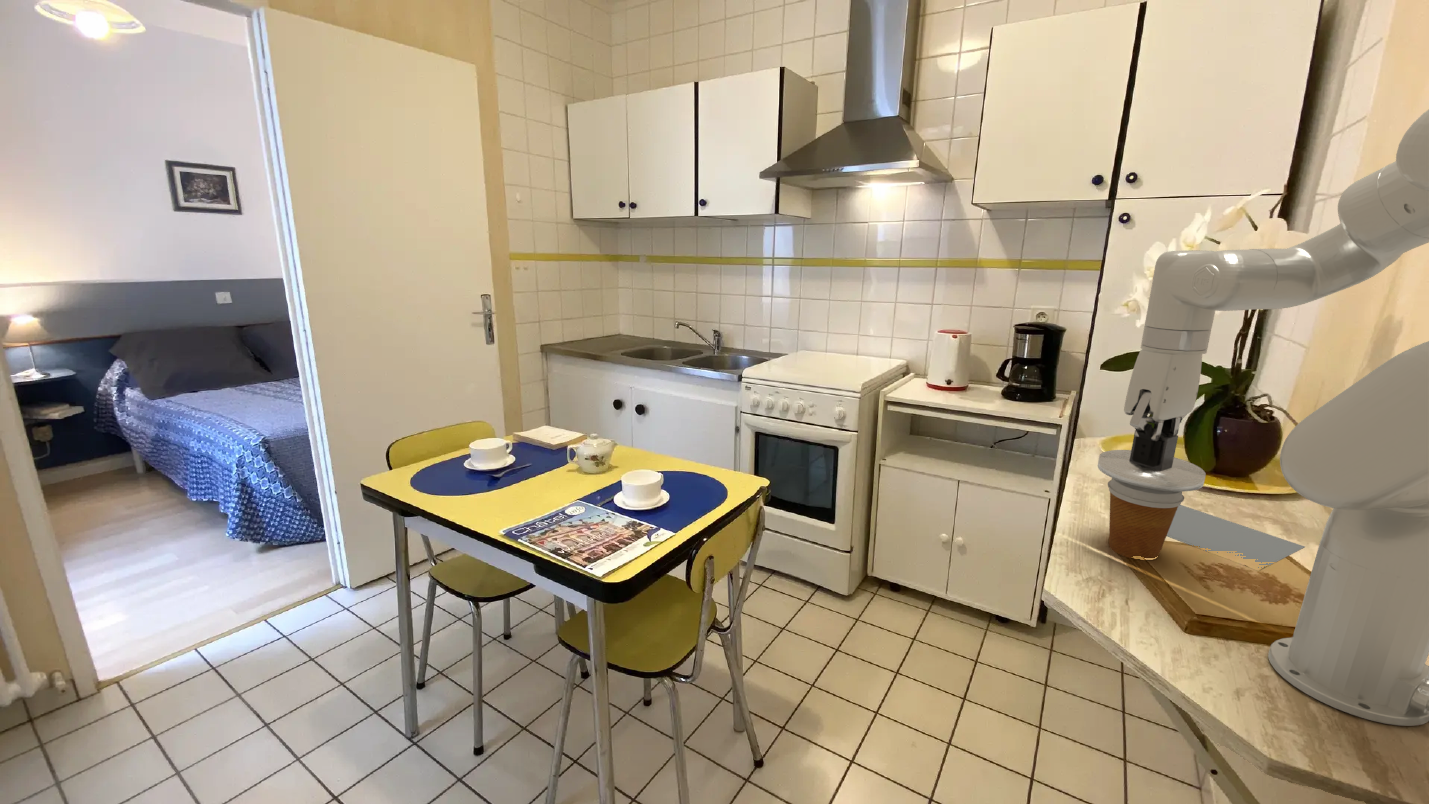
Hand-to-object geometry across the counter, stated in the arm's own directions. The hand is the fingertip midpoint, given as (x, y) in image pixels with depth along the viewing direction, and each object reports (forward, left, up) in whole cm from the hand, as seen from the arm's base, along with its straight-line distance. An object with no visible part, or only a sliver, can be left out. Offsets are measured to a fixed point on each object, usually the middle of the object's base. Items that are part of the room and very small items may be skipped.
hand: (1151, 460), depth 88 cm
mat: (-2, -17, -16) cm, 23 cm away
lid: (0, 0, -2) cm, 2 cm away
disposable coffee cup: (0, 0, -16) cm, 16 cm away
